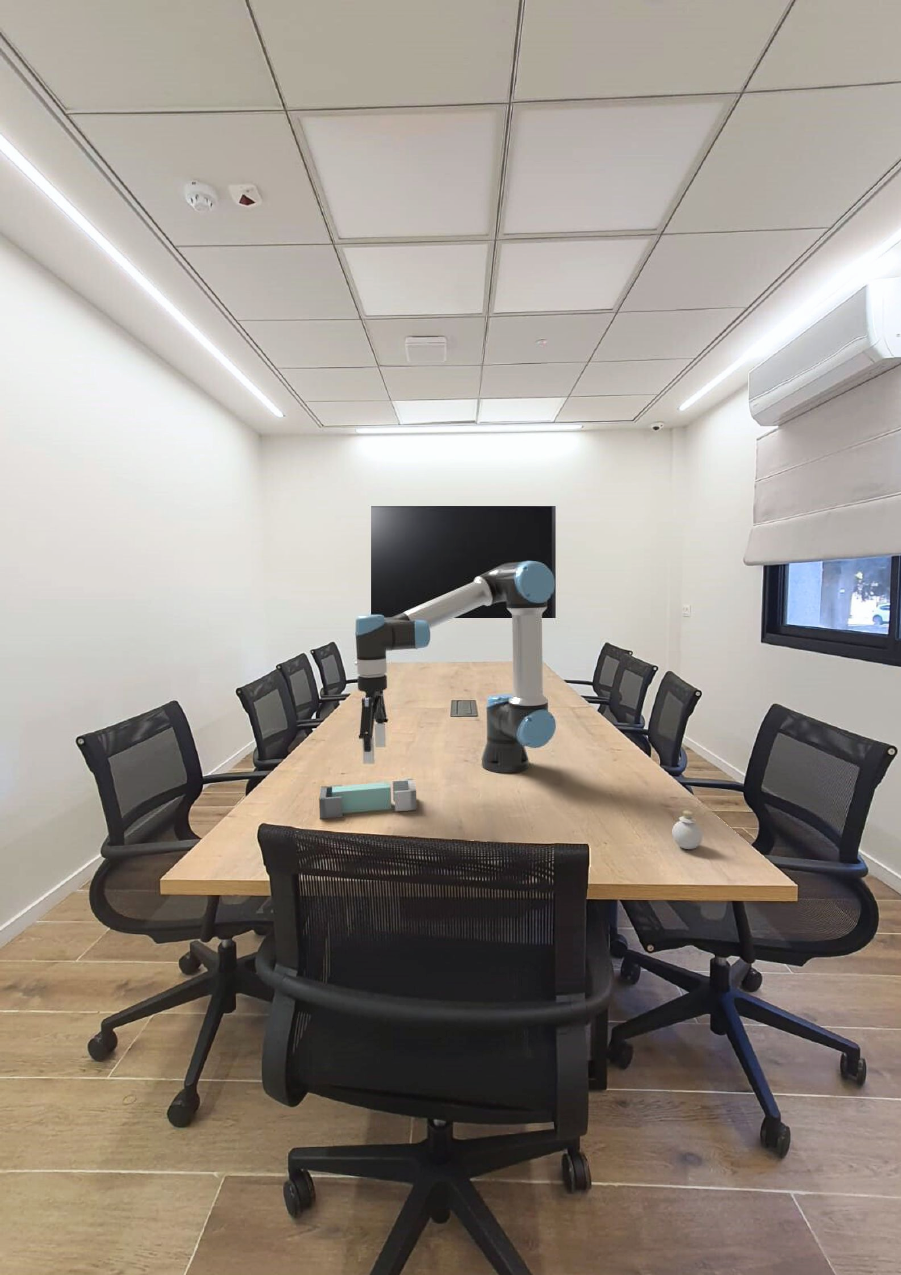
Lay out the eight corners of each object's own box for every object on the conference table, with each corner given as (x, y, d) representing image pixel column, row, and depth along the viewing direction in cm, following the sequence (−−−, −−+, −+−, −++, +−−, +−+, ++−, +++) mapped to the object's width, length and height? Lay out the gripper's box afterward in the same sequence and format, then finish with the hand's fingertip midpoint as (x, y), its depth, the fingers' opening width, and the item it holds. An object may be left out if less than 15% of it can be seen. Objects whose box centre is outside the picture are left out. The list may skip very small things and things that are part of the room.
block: (389, 803, 146) (389, 782, 145) (391, 809, 142) (390, 787, 141) (333, 808, 143) (332, 786, 142) (332, 815, 139) (332, 792, 138)
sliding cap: (413, 796, 149) (412, 778, 149) (416, 809, 140) (416, 790, 140) (393, 797, 148) (392, 780, 148) (395, 811, 139) (394, 792, 139)
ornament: (668, 840, 122) (669, 798, 121) (702, 841, 122) (703, 798, 121) (676, 854, 116) (678, 809, 115) (712, 855, 116) (714, 810, 115)
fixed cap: (342, 802, 146) (342, 784, 145) (342, 816, 137) (341, 797, 137) (322, 804, 145) (321, 786, 144) (319, 818, 136) (319, 799, 136)
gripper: (369, 667, 152) (372, 740, 154) (344, 683, 128) (348, 771, 130) (395, 667, 152) (398, 740, 154) (375, 683, 127) (378, 771, 129)
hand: (375, 754), depth 142 cm, fingers open, 13 cm apart
